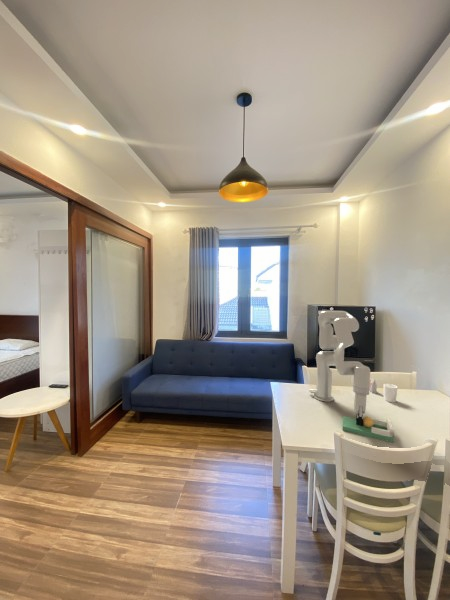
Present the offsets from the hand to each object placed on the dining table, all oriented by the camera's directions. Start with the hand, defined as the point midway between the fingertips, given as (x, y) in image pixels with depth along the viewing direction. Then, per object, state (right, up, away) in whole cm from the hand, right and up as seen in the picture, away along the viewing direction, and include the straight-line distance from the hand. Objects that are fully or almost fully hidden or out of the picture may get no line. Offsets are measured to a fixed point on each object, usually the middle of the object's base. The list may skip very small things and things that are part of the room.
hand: (359, 423), depth 130 cm
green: (+3, -3, -1) cm, 4 cm away
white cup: (+40, -2, +35) cm, 53 cm away
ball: (+3, +2, -2) cm, 4 cm away
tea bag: (+36, -2, +50) cm, 62 cm away
